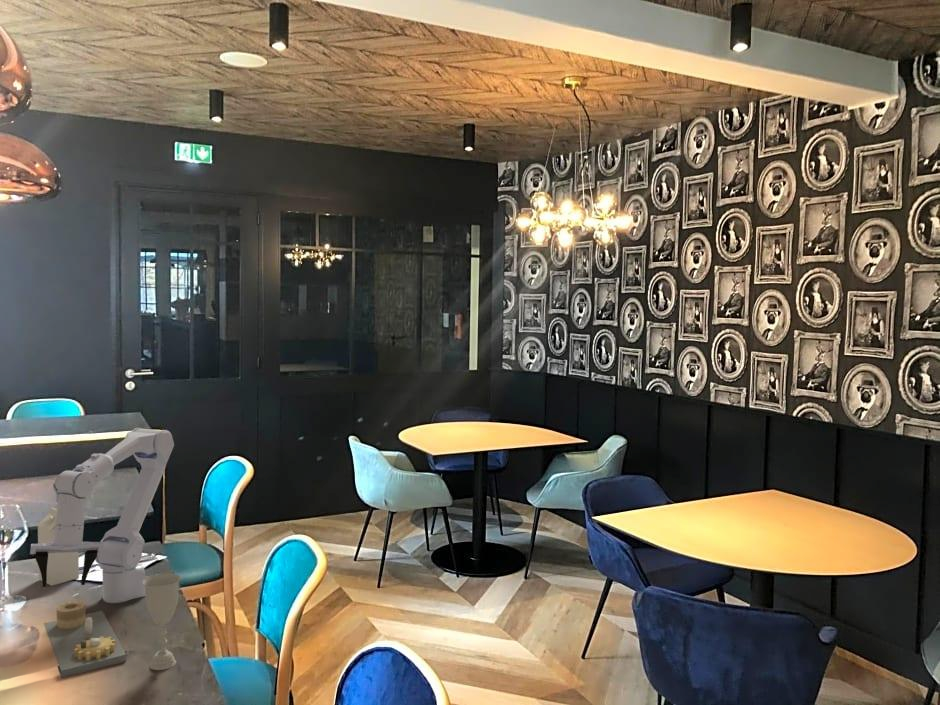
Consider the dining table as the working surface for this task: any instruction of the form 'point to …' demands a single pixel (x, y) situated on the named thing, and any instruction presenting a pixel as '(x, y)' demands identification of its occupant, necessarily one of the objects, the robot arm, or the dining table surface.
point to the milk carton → (57, 554)
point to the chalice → (162, 612)
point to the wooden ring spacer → (71, 615)
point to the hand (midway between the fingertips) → (63, 584)
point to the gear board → (85, 645)
